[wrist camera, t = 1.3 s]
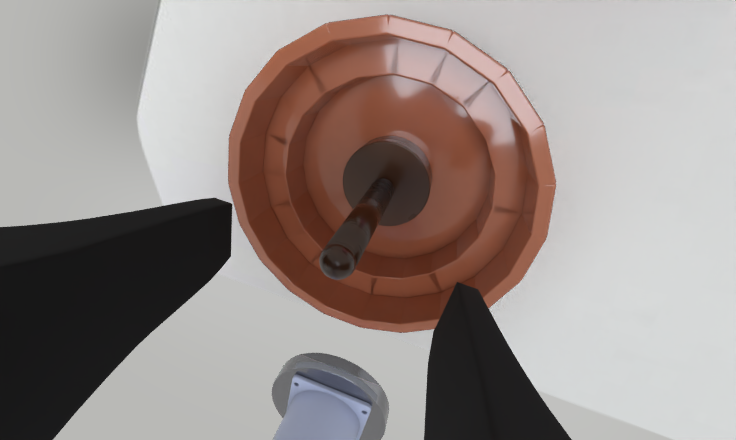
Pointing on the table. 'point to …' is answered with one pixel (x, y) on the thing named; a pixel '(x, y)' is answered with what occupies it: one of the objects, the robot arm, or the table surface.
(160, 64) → the table surface
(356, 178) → the disc with handle
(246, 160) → the bowl
